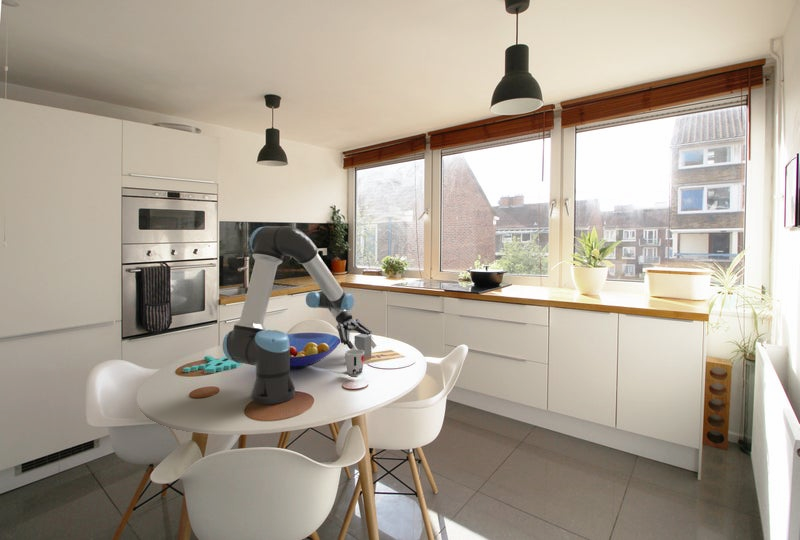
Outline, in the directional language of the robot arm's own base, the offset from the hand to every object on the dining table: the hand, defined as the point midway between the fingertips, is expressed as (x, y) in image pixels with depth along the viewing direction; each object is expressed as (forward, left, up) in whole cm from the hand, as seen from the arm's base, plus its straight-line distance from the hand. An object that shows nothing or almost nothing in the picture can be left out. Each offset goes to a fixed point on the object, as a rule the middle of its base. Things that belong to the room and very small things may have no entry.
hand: (366, 350), depth 187 cm
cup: (-13, +12, -6) cm, 19 cm away
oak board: (+2, -6, -6) cm, 9 cm away
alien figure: (+30, +60, -7) cm, 67 cm away
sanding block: (+2, +1, -4) cm, 5 cm away
